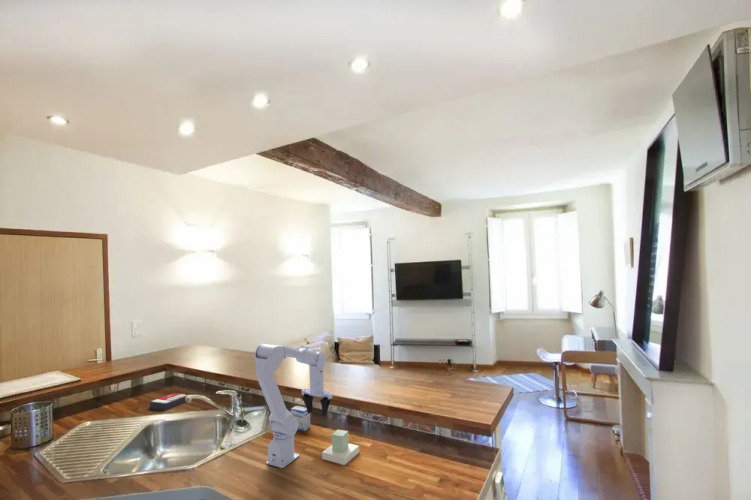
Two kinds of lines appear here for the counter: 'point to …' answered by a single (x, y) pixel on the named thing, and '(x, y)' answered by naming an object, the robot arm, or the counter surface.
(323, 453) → the white block
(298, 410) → the medicine box
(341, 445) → the sage block
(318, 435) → the counter surface
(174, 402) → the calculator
